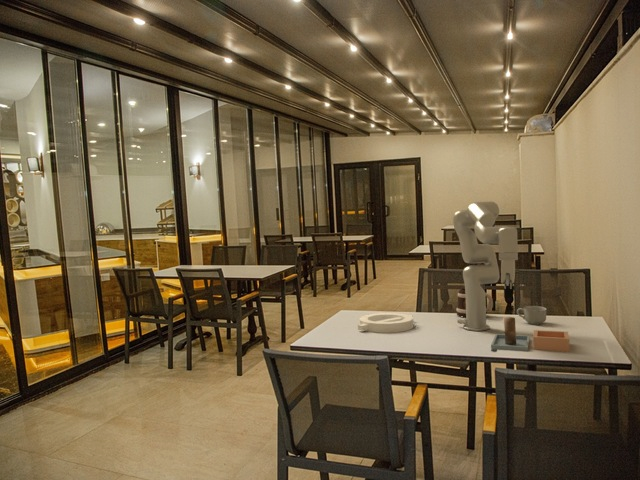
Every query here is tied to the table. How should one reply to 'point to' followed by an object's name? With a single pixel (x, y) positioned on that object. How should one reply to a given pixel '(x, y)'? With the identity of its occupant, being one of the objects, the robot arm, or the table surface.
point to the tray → (520, 345)
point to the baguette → (510, 330)
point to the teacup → (533, 314)
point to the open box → (551, 340)
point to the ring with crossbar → (386, 322)
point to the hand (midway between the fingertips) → (509, 296)
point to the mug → (462, 303)
